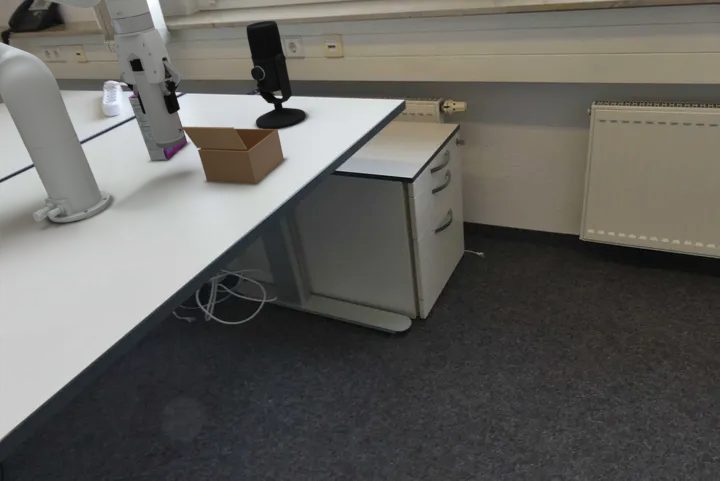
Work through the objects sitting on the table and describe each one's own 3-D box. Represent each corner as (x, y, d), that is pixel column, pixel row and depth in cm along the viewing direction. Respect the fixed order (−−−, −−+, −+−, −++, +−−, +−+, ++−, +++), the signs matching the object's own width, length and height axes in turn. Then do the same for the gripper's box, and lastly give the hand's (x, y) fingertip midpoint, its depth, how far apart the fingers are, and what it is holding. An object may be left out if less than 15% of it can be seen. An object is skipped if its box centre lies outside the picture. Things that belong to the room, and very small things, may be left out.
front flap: (247, 148, 116) (246, 149, 116) (197, 147, 121) (196, 148, 121) (233, 127, 111) (233, 128, 111) (182, 126, 116) (181, 127, 116)
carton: (255, 184, 120) (247, 151, 116) (207, 181, 125) (197, 150, 121) (284, 159, 130) (277, 129, 126) (237, 157, 135) (230, 128, 131)
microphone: (246, 125, 154) (223, 29, 142) (282, 109, 163) (263, 17, 150) (279, 132, 146) (257, 31, 133) (316, 115, 154) (299, 18, 142)
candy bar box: (171, 144, 150) (151, 82, 141) (188, 143, 148) (169, 80, 140) (149, 161, 140) (126, 96, 132) (167, 160, 139) (146, 95, 131)
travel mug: (192, 139, 126) (164, 47, 116) (166, 150, 122) (134, 56, 112) (177, 135, 130) (149, 45, 120) (151, 145, 126) (120, 54, 116)
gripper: (87, 31, 114) (119, 117, 123) (155, 26, 107) (183, 118, 116) (114, 23, 120) (142, 106, 129) (180, 17, 113) (204, 105, 122)
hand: (161, 111), depth 122 cm, fingers closed on travel mug, 6 cm apart
